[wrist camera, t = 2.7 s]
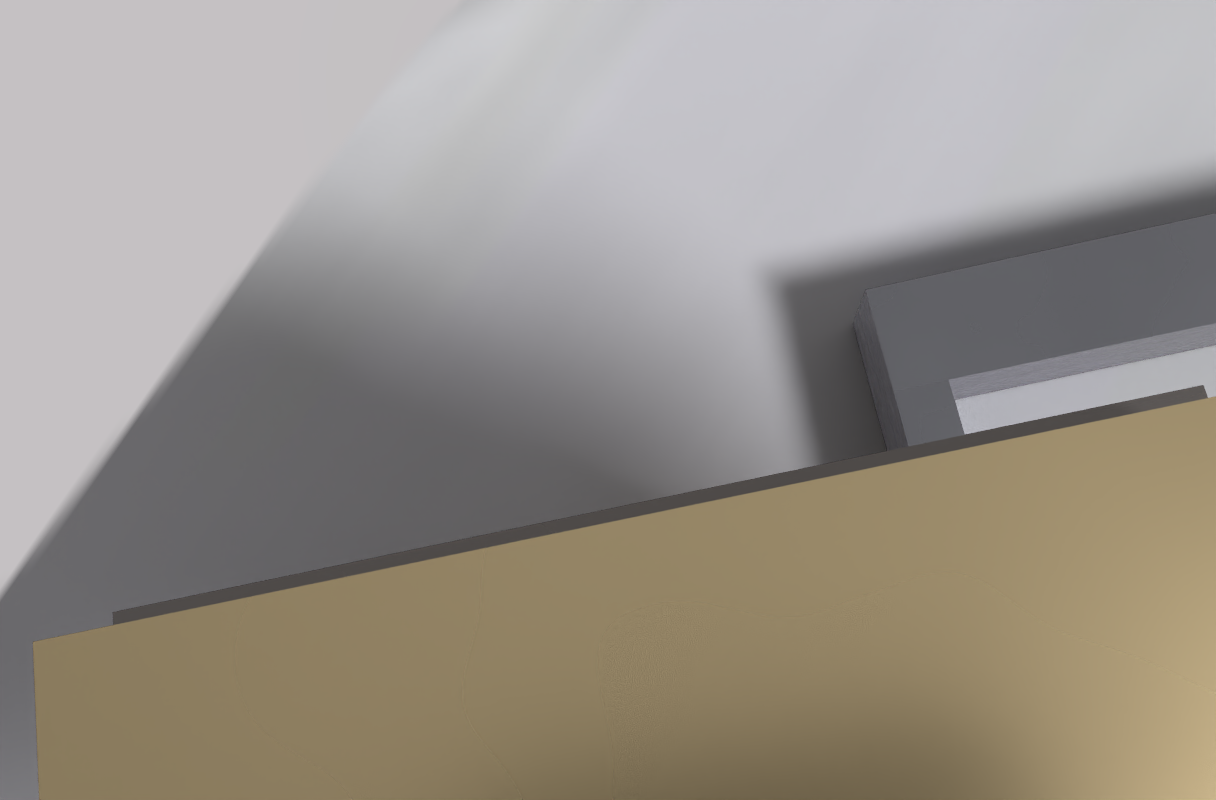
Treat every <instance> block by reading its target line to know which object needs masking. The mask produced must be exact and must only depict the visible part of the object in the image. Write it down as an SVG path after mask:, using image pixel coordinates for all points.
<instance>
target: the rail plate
mask: <svg viewBox="0 0 1216 800" xmlns="http://www.w3.org/2000/svg"><path fill="white" fill-rule="evenodd" d="M853 325H854V329H855V333H856V337H857V340H858V344H859V348H860V351H861V355H862V359H863V363H864V366H865V370H866V374H867V378H868V381H869V385H870V389H871V392H872V396H873V400H874V404H875V407H876V411H877V415H878V419H879V422H880V426H881V430H882V433H883V437H884V441H885V445H886V448H887V451H889V450H894V449H899V448H904V447H908V446H913V445H918V444H923V443H928V442H932V441H937V440H942V439H947V438H952V437H956V436H961V435H964V431H963V428H962V424H961V421H960V417H959V414H958V410H957V407H956V403H955V400H956V399H960V398H965V397H970V396H975V395H979V394H984V393H989V392H994V391H998V390H1003V389H1008V388H1013V387H1017V386H1022V385H1027V384H1032V383H1036V382H1041V381H1046V380H1051V379H1055V378H1060V377H1065V376H1070V375H1074V374H1079V373H1084V372H1089V371H1093V370H1098V369H1103V368H1108V367H1112V366H1117V365H1122V364H1127V363H1131V362H1136V361H1141V360H1146V359H1150V358H1155V357H1160V356H1165V355H1169V354H1174V353H1179V352H1184V351H1188V350H1193V349H1198V348H1203V347H1207V346H1212V345H1216V213H1214V214H1209V215H1205V216H1200V217H1195V218H1191V219H1186V220H1182V221H1177V222H1173V223H1168V224H1163V225H1159V226H1154V227H1150V228H1145V229H1141V230H1136V231H1131V232H1127V233H1122V234H1118V235H1113V236H1109V237H1104V238H1099V239H1095V240H1090V241H1086V242H1081V243H1077V244H1072V245H1068V246H1063V247H1058V248H1054V249H1049V250H1045V251H1040V252H1036V253H1031V254H1026V255H1022V256H1017V257H1013V258H1008V259H1004V260H999V261H994V262H990V263H985V264H981V265H976V266H972V267H967V268H962V269H958V270H953V271H949V272H944V273H940V274H935V275H930V276H926V277H921V278H917V279H912V280H908V281H903V282H898V283H894V284H889V285H885V286H880V287H876V288H871V289H866V290H865V293H864V295H863V298H862V301H861V303H860V306H859V308H858V311H857V314H856V316H855V319H854V321H853Z"/></svg>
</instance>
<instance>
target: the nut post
mask: <svg viewBox="0 0 1216 800" xmlns="http://www.w3.org/2000/svg"><path fill="white" fill-rule="evenodd" d="M33 660H34V685H35V709H36V733H37V758H38V782H39V800H1216V397H1211V398H1208V397H1207V394H1206V391H1205V389H1204V386H1203V385H1201V386H1197V387H1192V388H1187V389H1182V390H1177V391H1173V392H1168V393H1163V394H1158V395H1153V396H1149V397H1144V398H1139V399H1134V400H1129V401H1125V402H1120V403H1115V404H1110V405H1105V406H1101V407H1096V408H1091V409H1086V410H1081V411H1077V412H1072V413H1067V414H1062V415H1057V416H1052V417H1048V418H1043V419H1038V420H1033V421H1028V422H1024V423H1019V424H1014V425H1009V426H1004V427H1000V428H995V429H990V430H985V431H980V432H976V433H971V434H966V435H961V436H956V437H952V438H947V439H942V440H937V441H932V442H928V443H923V444H918V445H913V446H908V447H904V448H899V449H894V450H889V451H884V452H880V453H875V454H870V455H865V456H860V457H856V458H851V459H846V460H841V461H836V462H832V463H827V464H822V465H817V466H812V467H808V468H803V469H798V470H793V471H788V472H784V473H779V474H774V475H769V476H764V477H760V478H755V479H750V480H745V481H740V482H736V483H731V484H726V485H721V486H716V487H712V488H707V489H702V490H697V491H692V492H688V493H683V494H678V495H673V496H668V497H664V498H659V499H654V500H649V501H644V502H640V503H635V504H630V505H625V506H620V507H616V508H611V509H606V510H601V511H596V512H592V513H587V514H582V515H577V516H572V517H568V518H563V519H558V520H553V521H548V522H544V523H539V524H534V525H529V526H524V527H520V528H515V529H510V530H505V531H500V532H496V533H491V534H486V535H481V536H476V537H472V538H467V539H462V540H457V541H452V542H448V543H443V544H438V545H433V546H428V547H424V548H419V549H414V550H409V551H404V552H400V553H395V554H390V555H385V556H380V557H376V558H371V559H366V560H361V561H356V562H352V563H347V564H342V565H337V566H332V567H328V568H323V569H318V570H313V571H308V572H304V573H299V574H294V575H289V576H284V577H280V578H275V579H270V580H265V581H260V582H256V583H251V584H246V585H241V586H236V587H232V588H227V589H222V590H217V591H212V592H208V593H203V594H198V595H193V596H188V597H184V598H179V599H174V600H169V601H164V602H160V603H155V604H150V605H145V606H140V607H136V608H131V609H126V610H121V611H116V612H113V625H111V626H107V627H102V628H97V629H92V630H87V631H83V632H78V633H73V634H68V635H63V636H58V637H54V638H49V639H44V640H39V641H34V642H33Z"/></svg>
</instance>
